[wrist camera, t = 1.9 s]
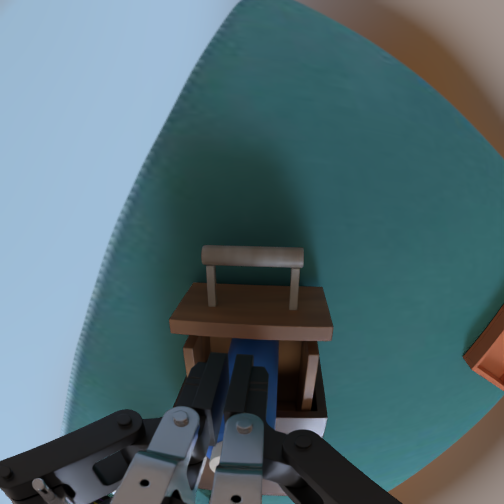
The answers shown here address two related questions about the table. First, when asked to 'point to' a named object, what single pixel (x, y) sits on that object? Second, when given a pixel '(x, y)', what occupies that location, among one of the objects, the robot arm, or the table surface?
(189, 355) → the drawer
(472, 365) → the tray
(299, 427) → the cabinet
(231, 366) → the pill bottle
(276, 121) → the table surface
